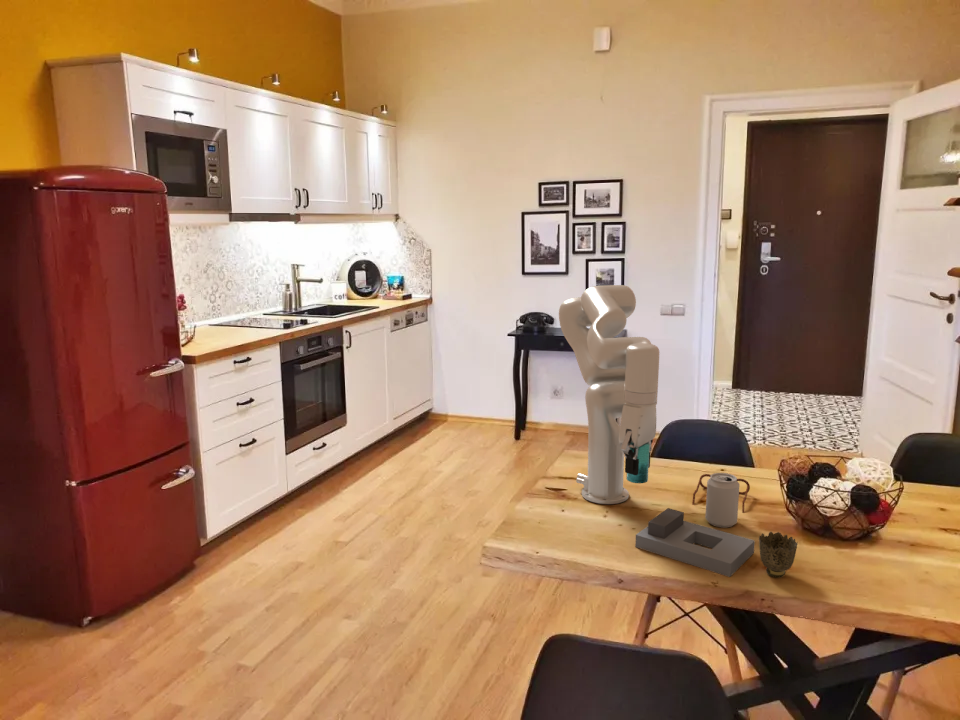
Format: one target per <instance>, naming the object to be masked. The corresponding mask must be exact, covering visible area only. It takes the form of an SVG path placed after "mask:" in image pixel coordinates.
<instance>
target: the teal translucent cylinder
mask: <svg viewBox="0 0 960 720" xmlns="http://www.w3.org/2000/svg"><path fill="white" fill-rule="evenodd" d="M630 444H631V445H634V443H632V442H631V443H630ZM649 447H650V444H649V443H648V442H647V443H645V444H644V445H642V446H640V447H639V451H638V457H637V459H639V468H638V475H632V474H629V473H626V480H627V482H630V483H633V484H645V483H647V482H648V481H649V468H650V467H649ZM634 449H635V448H631V447H630V450H632V451H633V452H634Z"/></svg>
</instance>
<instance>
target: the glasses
mask: <svg viewBox="0 0 960 720" xmlns="http://www.w3.org/2000/svg"><path fill="white" fill-rule="evenodd" d="M710 475H711V474H709V473H705V474H702V475H701V476H700V477H699V480H698V483H697V485H696V488H695V490H694V492H693V494H692V504H691V505H692V506H694V505H695V501H696V500H695V499H696V495H697V492H698V491H699V488H700V486H701V488H703V489H705V490H707V485H704V483H703V482H702V480H703V478H705V477H709V478H710ZM737 482H743V483H745V484H746V490H745V491H739V495H744V498H743V500H742V504H741V505H742V508H741V509H742V510H741V511H742V514H744V513H745V502H746V500H747V497H748V493H749V492H750V489H751V485H750V483H749V482H748V481H747V480H746V479H744V478H737Z"/></svg>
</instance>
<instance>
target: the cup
mask: <svg viewBox="0 0 960 720" xmlns="http://www.w3.org/2000/svg"><path fill="white" fill-rule="evenodd" d="M758 540H759V541H758V544H759V545H758V546H759V556H760V561H761V562H762V563H761V564H763V566H764V567H765V568H766V569H765V570H766V573H767V575H768V576H770V577H773V578H783V577H784V576H785V574H786V571H788V570H789V569H790V568H791V567H792V566H793V564H794V561H795V558H796V555H797V554H796V553H797V548H798V541H796V538H793V536H790V537H789V536H788V534H784V535H782V533H781V532H779V531H777V532H775V533H773V531H769V532H768V535H765V534H764V533H761V535H759V536H758Z"/></svg>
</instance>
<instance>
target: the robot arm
mask: <svg viewBox="0 0 960 720" xmlns="http://www.w3.org/2000/svg"><path fill="white" fill-rule="evenodd" d="M635 295H636V294H635V293H634V291H633V290H632V289H631V288H630V287H629V286H627V285H624V284H615V285H613V284H612V285H610V284H609V285H594V286H590V287H588V288H587V289H585V290H584V291H583V292H582V294H581V296H579V297H572V298H569V299H565V300H564V301H563V302H562V303H561V304H560V306H559V309H558V320H559V321H558V322H559V326H560V329H561V332H562V335H563V337H564V338H565V339H566V341H567V343H568V344H569V346H570V347H571V349H572V350H573V353H574V355H575V359H576V362H577V364H578V368H579V371H580V374H581V376H582V379H583V380H584V382H585V384H586V385H588V386H589V387H588V388H587V389H586V391H585V397H584V398H585V406H586V412H587V423H588V424H587V429H588V433H587V434H588V438H587V439H588V440H587V441H588V446H587V447H588V448H587V450H588V451H587V475H586V474H583V473H579V472H578V473H577V475H576V479H575V482H576V483H578V484H581V485H583V487H582V489H581V496H582V497H583V498H584V499H585V500H587V501H589V502H592V503H596V504H599V505H600V504H601V505H614V504H621V503H623V502H625V501H627V500H628V499H629V496H630V493H629V491H628V489H627V488H625V487H624V473H626V474H627V473H629V474H632V475H638V468H639V459H637V457H638V451H639V447H640V446H642V445H644V444H645V443H647V442H648V443H649V444H650V447H649V468H650V467H651V452H652V443H653V440H654V438H655V437H656V434H657V433H656V432H657V405H658V390H659V389H658V387H659V369H660V349H659V347H658V346H657V345H655V344H653V343H651V342H652V341H650V339H648V338H647V337H644V336H624V337H621V336H620V337H617V336H618V335H620V334H621V333H622V332H623V331H624V330H625V328H626V325H627V318H628V319H629V318H630V316H631V315H632V314H633V313H634V311H635V310H636V306H637V299H636V296H635ZM588 327H589V328H588ZM618 418H620V424H619V423H618V422H617V420H616V419H618ZM631 442H632V443H634V445H631V444H630V443H631ZM630 447H631V448H635V449H634V452H633V451H632V450H630Z"/></svg>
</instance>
